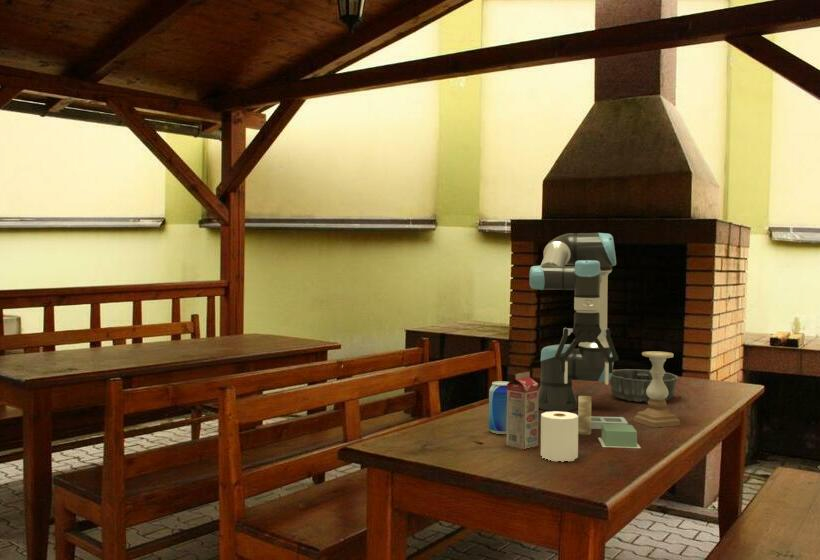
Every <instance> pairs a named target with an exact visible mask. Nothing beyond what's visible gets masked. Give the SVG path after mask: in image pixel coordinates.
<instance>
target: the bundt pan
mask: <svg viewBox="0 0 820 560" xmlns="http://www.w3.org/2000/svg"><path fill="white" fill-rule="evenodd" d="M650 370H651V369H632V368H631V369H628V368H626V369H624V368H623V369H613V371H612V377H611V379H610V380H609V382H610V384H609V385H610V390H611V393H612V394H613V396H615V397H617V398H619V399H621V400H626V401H628V402H632V401H633V402H636V403H642V402H644V403H646V404H648V401H649V400H650V398H649V397H648V396H647V394H646V389H647V387H648V386H649V384H650V383H651V381H652V375H651V373H650ZM677 380H679V377H678V375H676V374H674V373H670V372H666V373H665V374H664V376H663V382H664V384H665V386H666V387H667V389H668V392H669V394H668V396H667V397H666V398H665V399H664V400H665V401H666V402H667V401H668V400H670V399H672V397H673V395H674V394H675V389H676V384H677Z"/></svg>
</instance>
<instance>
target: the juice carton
mask: <svg viewBox="0 0 820 560" xmlns="http://www.w3.org/2000/svg"><path fill="white" fill-rule="evenodd" d="M508 382H509V383H508V384H507V435H506V446H507V445H511V446H515V447H519V448H523V449H524V442H525V449H526V448H530V447H533V446H537V445H538V446H539V408H538V398H539V389H540V386H539V385H540V383H538V382H537V381H536V380H535V379H533V378H532V377H531V374H530V371H526V372H525V371H524V372H520V373H515V379H514V380H512V381H508ZM538 446H537V447H538ZM533 448H534V447H533ZM530 449H531V448H530Z"/></svg>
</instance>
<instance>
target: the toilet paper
mask: <svg viewBox="0 0 820 560" xmlns="http://www.w3.org/2000/svg"><path fill="white" fill-rule="evenodd" d="M541 456H542V457H541ZM540 457H541V458H542V459H543V458H545V459H544V460H546V459H548V460H547V461H550V460H551V461H550V462H558V461H561V462H560V463H564V461H568V462H574V461H576V460H577V459H578V458H579V433H578V414H577V413H573V412H570V411H545V412H542V413H540ZM575 459H576V460H575Z"/></svg>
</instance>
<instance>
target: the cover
mask: <svg viewBox="0 0 820 560" xmlns="http://www.w3.org/2000/svg"><path fill="white" fill-rule="evenodd" d="M601 438H602V440H603V442H604V444H605V446H619V447H637V443H638V431H637V430H636V429H635V427H634V426H633V425H632V424H628V425H614V424H602V429H601ZM619 447H618V448H619Z"/></svg>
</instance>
